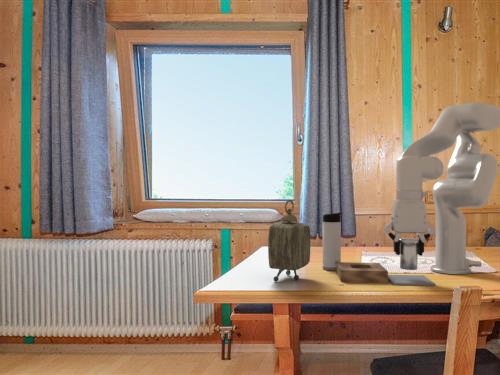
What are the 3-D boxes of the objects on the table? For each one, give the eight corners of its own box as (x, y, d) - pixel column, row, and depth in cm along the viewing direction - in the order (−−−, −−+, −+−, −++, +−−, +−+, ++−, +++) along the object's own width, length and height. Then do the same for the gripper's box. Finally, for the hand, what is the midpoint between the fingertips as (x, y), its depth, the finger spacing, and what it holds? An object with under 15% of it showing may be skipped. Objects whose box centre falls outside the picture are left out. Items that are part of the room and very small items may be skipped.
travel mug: (341, 271, 150) (341, 213, 150) (322, 270, 152) (322, 212, 151) (341, 267, 156) (341, 211, 156) (322, 267, 158) (322, 211, 158)
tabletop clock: (285, 273, 146) (285, 198, 146) (311, 276, 142) (311, 199, 142) (268, 282, 133) (268, 200, 133) (296, 285, 129) (296, 200, 129)
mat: (423, 277, 140) (423, 275, 140) (435, 285, 128) (435, 283, 128) (385, 276, 141) (385, 274, 141) (393, 285, 129) (393, 282, 129)
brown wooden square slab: (379, 273, 146) (379, 262, 146) (387, 282, 133) (387, 271, 133) (336, 272, 148) (336, 262, 148) (340, 281, 134) (340, 270, 134)
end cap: (416, 266, 137) (416, 238, 137) (421, 270, 131) (421, 240, 131) (396, 266, 138) (396, 237, 138) (401, 270, 132) (401, 240, 132)
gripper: (434, 196, 137) (433, 253, 137) (378, 195, 139) (377, 252, 139) (442, 196, 130) (441, 257, 130) (382, 196, 132) (382, 255, 132)
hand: (408, 254), depth 135 cm, fingers closed on end cap, 6 cm apart
